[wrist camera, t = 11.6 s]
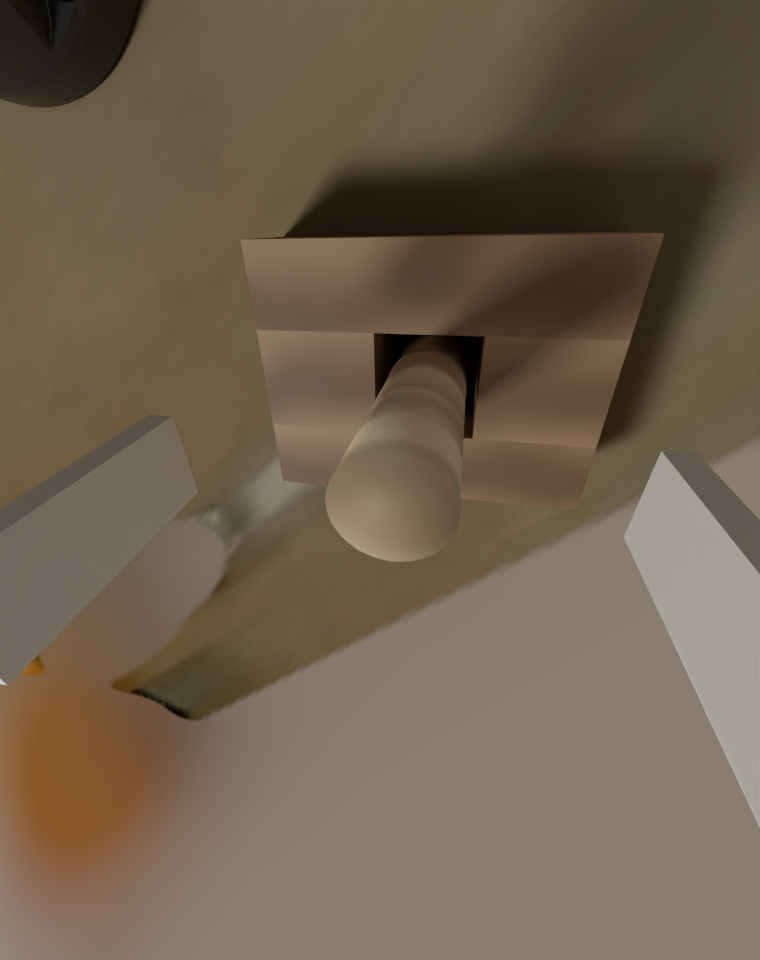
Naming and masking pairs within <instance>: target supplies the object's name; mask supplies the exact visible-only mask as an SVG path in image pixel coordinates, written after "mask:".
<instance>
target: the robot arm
mask: <svg viewBox="0 0 760 960" xmlns="http://www.w3.org/2000/svg"><path fill="white" fill-rule="evenodd" d="M136 5H137V0H0V99H2V100H5V101H9V102H13V103H17V104H20V105H25V106H30V107H55V106H61V105H64V104H68V103H71V102H73V101H75V100H78V99H79V98H81V97H83V96H84V95H86V94H87V93H89V92H90V91H91V90H92V89H94V88H95V87H96V86H97V85H98V84H99V83H100V82H101V81H102V80H103V79H104V77H105V76H106V75H107V74H108V72H109V71H110V70H111V68H112V66H113V65H114V63H115V62H116V60H117V58H118V56H119V54H120V52H121V50H122V48H123V46H124V43H125V41H126V38H127V36H128V33H129V30H130V27H131V24H132V21H133V17H134V13H135V9H136ZM197 493H198V490H197V487H196V484H195V481H194V478H193V475H192V472H191V470H190V467H189V464H188V461H187V458H186V455H185V452H184V449H183V446H182V443H181V441H180V438H179V435H178V432H177V429H176V426H175V423H174V420H173V417H171V416H157V415H149V416H147V417H145V418H144V419H142V420H141V421H139V422H137V423H136V424H134V425H133V426H131V427H129V428H128V429H126V430H125V431H123V432H121V433H120V434H118V435H116V436H115V437H113V438H112V439H110V440H108V441H107V442H105V443H104V444H102V445H100V446H99V447H97V448H96V449H94V450H92V451H91V452H89V453H88V454H86V455H84V456H83V457H81V458H80V459H78V460H76V461H75V462H73V463H72V464H70V465H68V466H67V467H65V468H64V469H62V470H60V471H59V472H57V473H56V474H54V475H52V476H51V477H49V478H48V479H46V480H44V481H43V482H41V483H40V484H38V485H36V486H35V487H33V488H32V489H30V490H28V491H27V492H25V493H23V494H22V495H20V496H19V497H17V498H15V499H14V500H12V501H11V502H9V503H7V504H6V505H4V506H3V507H1V508H0V684H2V685H7V686H8V685H9V684H10V683H11V682H12V681H13V680H14V679H15V678H16V677H17V676H18V675H19V674H20V673H21V672H22V671H23V670H24V669H25V668H26V667H27V666H28V665H29V664H30V663H31V662H32V661H33V660H34V659H35V658H36V657H37V656H38V655H39V654H40V653H41V652H42V651H43V650H44V648H45V647H46V646H47V645H48V644H49V643H50V642H51V641H52V640H53V639H54V638H55V637H56V636H57V635H58V634H59V633H60V632H61V631H62V630H63V629H64V628H65V627H66V626H67V625H68V624H69V623H70V622H71V621H72V620H73V619H74V618H75V617H76V616H77V615H78V614H79V613H80V612H81V611H82V610H83V609H84V608H85V607H86V606H87V604H89V603H90V602H91V601H92V600H93V599H94V598H95V597H96V596H97V595H98V593H100V591H101V590H102V589H104V588H105V586H106V585H107V584H108V583H109V582H110V581H111V580H112V579H113V578H114V577H115V576H116V575H117V574H118V573H119V572H120V571H121V570H122V569H123V568H124V567H125V566H126V565H127V564H128V563H129V562H130V561H131V560H132V559H133V558H134V557H135V556H136V555H137V554H138V553H139V552H140V551H141V550H142V549H143V548H144V547H145V546H146V545H147V544H148V543H149V542H150V541H151V540H152V539H153V538H154V537H155V536H156V535H157V534H158V533H159V532H160V531H161V530H162V529H163V528H164V527H165V525H166V524H167V523H168V522H169V521H170V520H171V519H172V518H173V517H174V516H175V515H176V514H177V513H178V512H179V511H180V510H181V509H182V508H183V507H184V506H185V505H186V504H187V503H188V502H189V501H190V500H191V499H192V498H193V497H194V496H195V495H196V494H197ZM624 539H625V541H626V543H627V545H628V547H629V549H630V552H631V554H632V556H633V558H634V560H635V562H636V564H637V566H638V568H639V571H640V573H641V575H642V577H643V579H644V581H645V584H646V586H647V588H648V590H649V592H650V594H651V596H652V599H653V601H654V603H655V605H656V607H657V609H658V611H659V614H660V616H661V618H662V620H663V622H664V624H665V626H666V628H667V631H668V633H669V635H670V637H671V639H672V641H673V643H674V646H675V648H676V650H677V652H678V654H679V656H680V658H681V661H682V662H683V665H684V667H685V669H686V671H687V673H688V676H689V677H690V680H691V682H692V684H693V686H694V688H695V691H696V692H697V695H698V697H699V699H700V701H701V703H702V705H703V708H704V710H705V712H706V714H707V716H708V718H709V720H710V723H711V725H712V727H713V728H714V731H715V733H716V735H717V737H718V740H719V742H720V744H721V746H722V748H723V750H724V752H725V755H726V757H727V759H728V761H729V763H730V765H731V767H732V770H733V772H734V774H735V776H736V778H737V780H738V782H739V785H740V787H741V789H742V791H743V793H744V795H745V797H746V799H747V802H748V804H749V806H750V808H751V810H752V812H753V814H754V817H755V819H756V821H757V823H758V825H759V827H760V520H759V519H758V518H757V517H756V516H755V514H754V513H753V512H752V511H751V510H750V509H749V508H748V507H747V506H746V505H745V504H744V503H743V502H742V501H741V500H740V499H739V497H738V496H736V494H735V493H734V492H733V491H732V490H731V489H730V488H729V487H728V486H727V485H726V484H725V483H724V481H723V480H721V478H720V477H719V476H718V475H717V474H716V473H715V472H714V471H713V470H712V469H711V468H710V467H709V465H708V464H707V463H706V462H705V461H704V460H703V459H702V458H701V457H700V456H699V455H698V454H697V453H683V452H669V451H661V453H660V455H659V458H658V460H657V462H656V465H655V467H654V469H653V471H652V474H651V476H650V478H649V481H648V483H647V485H646V487H645V490H644V492H643V494H642V497H641V499H640V501H639V503H638V506H637V508H636V510H635V513H634V515H633V517H632V519H631V522H630V524H629V526H628V529H627V531H626V533H625V535H624Z"/></svg>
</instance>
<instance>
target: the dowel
mask: <svg viewBox="0 0 760 960" xmlns="http://www.w3.org/2000/svg"><path fill="white" fill-rule="evenodd" d="M466 378H467V352H466V349H465V346H464V344H463V342H462V341H461V340H460V338H459V337H458V336H453V335H418V334H416V335H415V336H413V337H412V338H411V339H410V341H409V342H408V344H407V345H406V347H405V349H404V351H403V352H402V354H401V356H400V358H399V359H398V361H397V362H396V363H395V365H394V366H393V368H392V369H391V371H390V373H389V376H388V379H387V381H386V382H385V384H384V386H383V388H382V389H381V391H380V393H379V395H378V396H377V398H376V400H375V402H374V403H373V405H372V407H371V409H370V410H369V412H368V414H367V416H366V418H365V419H364V421H363V423H362V425H361V426H360V428H359V430H358V432H357V433H356V435H355V437H354V439H353V440H352V442H351V444H350V446H349V448H348V449H347V451H346V453H345V455H344V456H343V458H342V460H341V462H340V463H339V465H338V467H337V469H336V470H335V472H334V474H333V476H332V478H331V480H330V482H329V484H328V487H327V490H326V508H327V513H328V516H329V518H330V520H331V522H332V524H333V526H334V527H335V529H336V530H337V532H338V533H339V534H340V535H341V536H342V537H343V538H344V539H345V540H346V541H347V542H348V543H349V544H351V545H352V546H353V547H355V548H356V549H358V550H360V551H361V552H363V553H365V554H367V555H370V556H373V557H375V558H379V559H383V560H388V561H397V562H406V561H415V560H419V559H423V558H426V557H429V556H431V555H433V554H435V553H437V552H438V551H440V550H441V549H442V548H444V547H445V546H446V545H447V544H448V543H449V541H450V540H451V539H452V538H453V536H454V534H455V532H456V530H457V527H458V523H459V516H460V497H461V477H462V457H463V437H464V418H465V400H466V396H467V381H466Z"/></svg>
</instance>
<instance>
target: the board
mask: <svg viewBox="0 0 760 960" xmlns="http://www.w3.org/2000/svg"><path fill="white" fill-rule="evenodd" d="M664 234H665V233H650V232H625V231H621V232H559V233H496V234H433V235H371V236H308V237H273V238H257V239H240V241H241V246H242V252H243V257H244V263H245V269H246V274H247V280H248V285H249V291H250V297H251V302H252V308H253V313H254V319H255V325H256V330H257V336H258V341H259V347H260V352H261V358H262V364H263V369H264V375H265V380H266V386H267V392H268V397H269V403H270V408H271V414H272V420H273V425H274V431H275V436H276V442H277V448H278V453H279V459H280V464H281V470H282V476H283V481H290V482H300V483H310V484H320V485H328V484H329V482H330V480H331V478H332V476H333V474H334V472H335V470H336V469H337V467H338V465H339V463H340V462H341V460H342V458H343V456H344V455H345V453H346V451H347V449H348V448H349V446H350V444H351V442H352V440H353V439H354V437H355V435H356V433H357V432H358V430H359V428H360V426H361V425H362V423H363V421H364V419H365V418H366V416H367V414H368V412H369V410H370V409H371V407H372V405H373V403H374V402H375V400H376V398H377V396H378V395H379V393H380V391H381V389H382V388H383V386H384V384H385V382H386V381H387V379H388V376H389V373H390V371H391V334H418V335H453V336H481V339H480V347H479V355H478V364H477V372H476V381H475V389H474V398H473V404H465V418H464V437H463V457H462V477H461V497H460V499H470V500H480V501H490V502H500V503H510V504H520V505H530V506H540V507H550V508H560V509H570V510H577V507H578V504H579V501H580V497H581V494H582V491H583V488H584V485H585V482H586V479H587V475H588V472H589V469H590V466H591V463H592V460H593V457H594V453H595V450H596V447H597V444H598V441H599V438H600V435H601V432H602V428H603V425H604V422H605V419H606V416H607V413H608V410H609V406H610V403H611V400H612V397H613V394H614V391H615V388H616V385H617V381H618V378H619V375H620V372H621V369H622V366H623V363H624V359H625V356H626V353H627V350H628V347H629V344H630V341H631V338H632V334H633V331H634V328H635V325H636V322H637V319H638V316H639V312H640V309H641V306H642V303H643V300H644V297H645V294H646V291H647V287H648V284H649V281H650V278H651V275H652V272H653V269H654V265H655V262H656V259H657V256H658V253H659V250H660V247H661V244H662V240H663V237H664Z"/></svg>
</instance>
